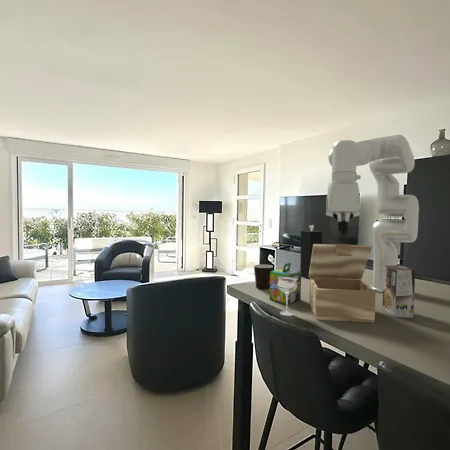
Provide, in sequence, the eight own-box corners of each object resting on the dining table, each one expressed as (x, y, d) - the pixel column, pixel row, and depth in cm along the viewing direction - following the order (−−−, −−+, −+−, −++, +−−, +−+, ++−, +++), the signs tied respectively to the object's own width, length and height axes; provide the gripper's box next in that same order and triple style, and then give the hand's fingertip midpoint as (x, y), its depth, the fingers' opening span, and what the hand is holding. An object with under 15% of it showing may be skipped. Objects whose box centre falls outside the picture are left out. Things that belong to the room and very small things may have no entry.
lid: (309, 286, 112) (308, 275, 116) (363, 288, 109) (360, 277, 113) (314, 254, 100) (313, 242, 104) (375, 255, 97) (371, 244, 101)
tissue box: (299, 276, 164) (300, 224, 162) (311, 275, 167) (312, 224, 165) (309, 279, 156) (310, 225, 155) (321, 278, 159) (322, 225, 158)
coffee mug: (260, 284, 145) (260, 263, 145) (276, 287, 140) (276, 266, 139) (246, 289, 136) (246, 267, 136) (262, 292, 131) (262, 269, 130)
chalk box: (282, 295, 127) (282, 260, 126) (301, 300, 120) (302, 263, 120) (268, 299, 120) (269, 262, 120) (288, 305, 114) (289, 265, 113)
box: (309, 303, 116) (310, 277, 115) (359, 306, 113) (360, 279, 112) (315, 319, 99) (316, 289, 98) (374, 322, 96) (375, 291, 96)
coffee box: (414, 317, 101) (416, 269, 100) (394, 317, 101) (396, 269, 100) (399, 309, 110) (400, 264, 109) (381, 308, 110) (382, 264, 110)
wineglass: (284, 317, 100) (284, 281, 100) (273, 311, 106) (273, 277, 106) (301, 315, 103) (301, 279, 102) (289, 309, 109) (289, 275, 109)
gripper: (364, 179, 104) (362, 233, 105) (318, 180, 106) (317, 232, 107) (371, 177, 97) (369, 234, 98) (322, 177, 99) (320, 233, 100)
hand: (342, 233), depth 102 cm, fingers closed
